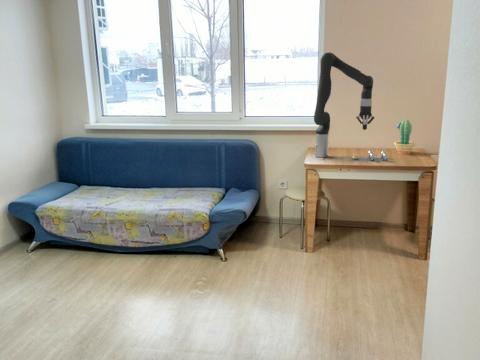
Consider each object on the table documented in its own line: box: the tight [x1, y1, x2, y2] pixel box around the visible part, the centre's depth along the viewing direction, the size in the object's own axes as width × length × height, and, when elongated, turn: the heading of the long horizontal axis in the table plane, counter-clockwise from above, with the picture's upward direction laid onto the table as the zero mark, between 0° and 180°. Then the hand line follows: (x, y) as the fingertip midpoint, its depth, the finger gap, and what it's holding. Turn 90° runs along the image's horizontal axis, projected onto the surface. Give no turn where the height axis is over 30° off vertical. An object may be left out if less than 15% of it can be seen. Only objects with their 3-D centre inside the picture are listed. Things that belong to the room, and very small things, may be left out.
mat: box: [349, 156, 388, 162], centre depth 319 cm, size 25×12×1 cm, turn 81°
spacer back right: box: [380, 150, 387, 159], centre depth 321 cm, size 3×3×5 cm
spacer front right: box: [382, 152, 389, 162], centre depth 313 cm, size 3×3×5 cm
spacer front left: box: [369, 152, 375, 162], centre depth 314 cm, size 3×3×5 cm
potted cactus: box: [393, 119, 416, 155], centre depth 334 cm, size 15×15×25 cm
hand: (364, 129), depth 315 cm, fingers closed
